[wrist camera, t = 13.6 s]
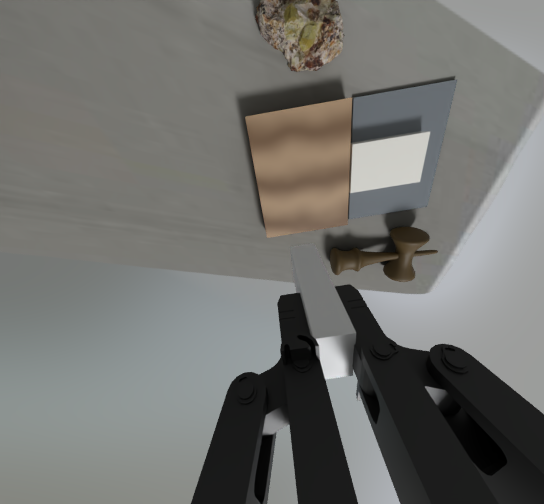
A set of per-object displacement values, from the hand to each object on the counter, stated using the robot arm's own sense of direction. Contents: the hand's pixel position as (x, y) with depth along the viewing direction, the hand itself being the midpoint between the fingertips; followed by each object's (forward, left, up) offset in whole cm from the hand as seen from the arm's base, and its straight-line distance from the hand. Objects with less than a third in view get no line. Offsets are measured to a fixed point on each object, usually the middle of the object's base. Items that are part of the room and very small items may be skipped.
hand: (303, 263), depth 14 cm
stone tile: (0, +17, -24) cm, 29 cm away
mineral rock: (-17, +5, -25) cm, 31 cm away
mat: (0, +19, -24) cm, 31 cm away
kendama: (+17, +18, -25) cm, 35 cm away
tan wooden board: (0, +4, -24) cm, 25 cm away
